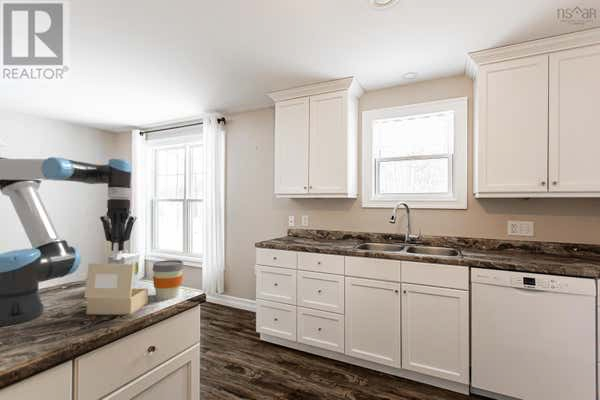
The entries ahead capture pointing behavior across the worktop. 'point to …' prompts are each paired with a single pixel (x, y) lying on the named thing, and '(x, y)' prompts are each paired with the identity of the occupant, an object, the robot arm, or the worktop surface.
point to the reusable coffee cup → (167, 278)
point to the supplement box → (129, 260)
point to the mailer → (118, 303)
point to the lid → (109, 281)
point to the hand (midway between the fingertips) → (117, 259)
